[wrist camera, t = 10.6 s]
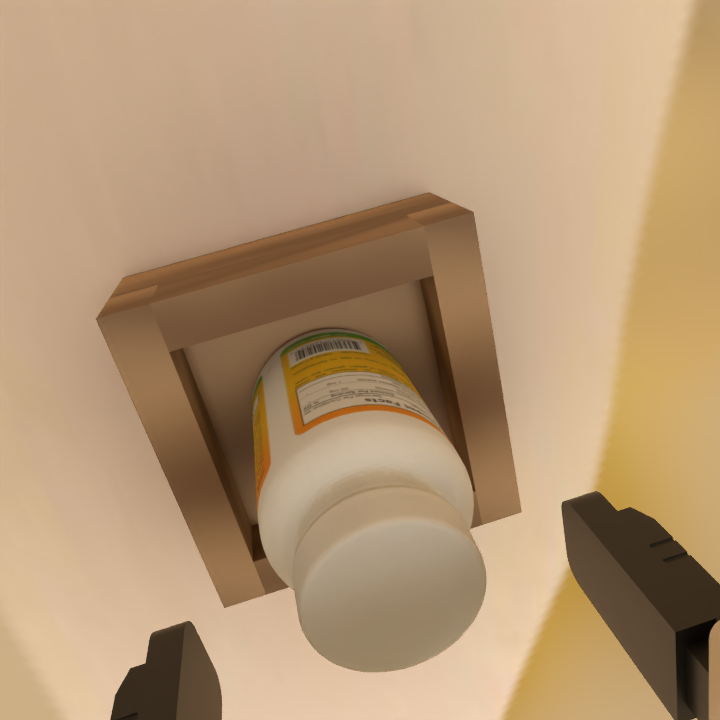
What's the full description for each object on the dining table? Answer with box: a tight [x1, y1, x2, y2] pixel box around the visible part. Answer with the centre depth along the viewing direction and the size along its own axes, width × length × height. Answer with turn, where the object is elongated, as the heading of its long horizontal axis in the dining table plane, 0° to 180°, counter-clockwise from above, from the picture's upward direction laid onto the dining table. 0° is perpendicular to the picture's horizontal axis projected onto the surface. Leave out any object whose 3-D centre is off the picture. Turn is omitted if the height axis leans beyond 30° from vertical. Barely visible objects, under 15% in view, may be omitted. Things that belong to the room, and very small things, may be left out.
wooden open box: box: [96, 193, 521, 608], centre depth 22 cm, size 11×11×4 cm
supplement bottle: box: [252, 329, 486, 672], centre depth 17 cm, size 5×5×10 cm
